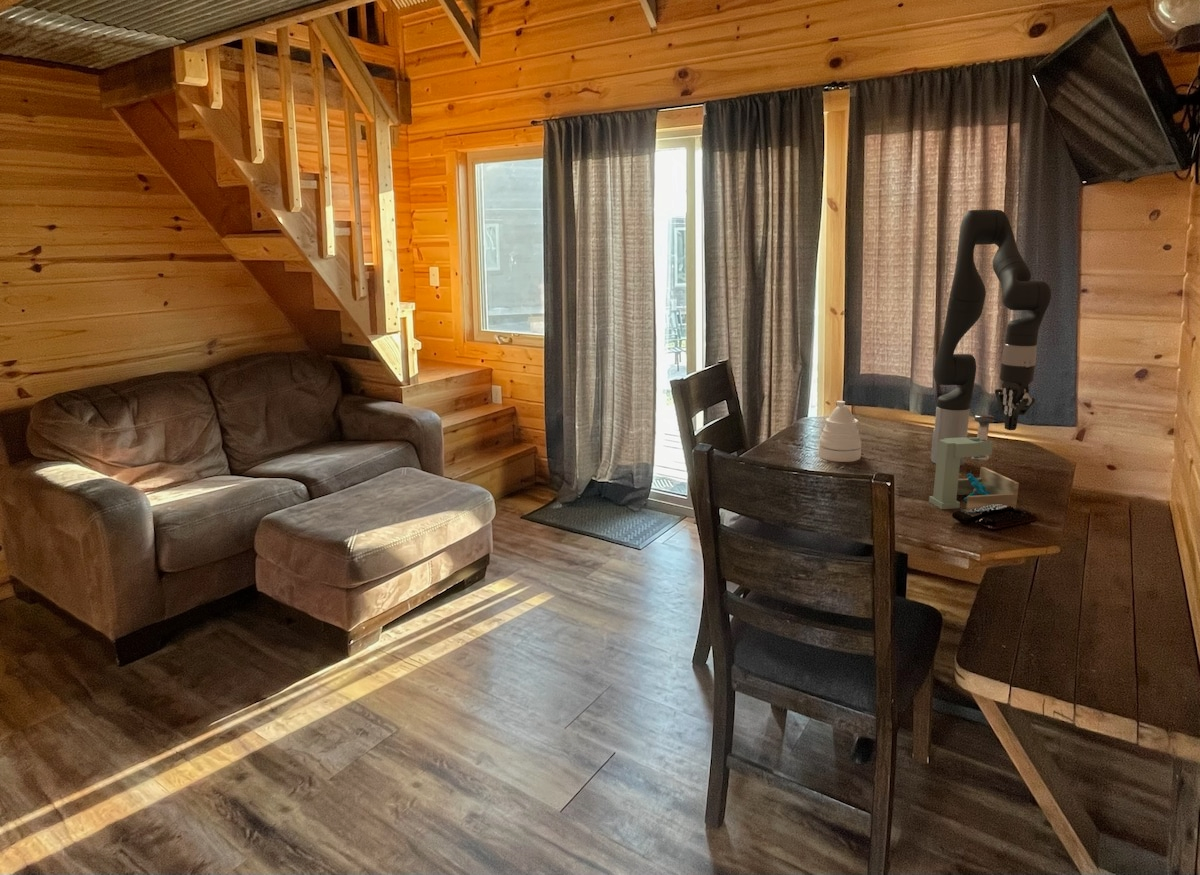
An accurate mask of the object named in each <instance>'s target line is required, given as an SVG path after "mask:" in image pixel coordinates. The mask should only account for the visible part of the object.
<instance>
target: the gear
mask: <svg viewBox="0 0 1200 875" xmlns="http://www.w3.org/2000/svg"><path fill="white" fill-rule="evenodd" d="M966 477H967V479H968V480H969V481H970V482H971V484H972V486H973V487H975V488H974V490H973V492H972V493H970V494H967V496H976V495H991V494H990V492H989V491H987V490H986V487H985V486H984V484H983V483H982V482H981V483H979V480H978V479H977V478H978V477H975V475H973V474H972V473H970V472H969V473H967V474H966ZM967 496H966V497H964V498H963V500H964V501H965V502H966V503H967Z"/></svg>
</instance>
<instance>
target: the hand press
mask: <svg viewBox="0 0 1200 875" xmlns="http://www.w3.org/2000/svg"><path fill="white" fill-rule="evenodd" d="M993 446H994V441H992V440H987V441H979V442H977V436H976V437H975V436H973V437H967V438H965V437H960V438H944V439H942V440H939V441H938V451H937V461H936V463H935V475H934V482H933V483H934V485H933V493H932V494H933V495H930V496H928V503H930V504H932V505H933V504H934V505H933V506H935V507H936V508H939V509H940V510H949V509H960V508H961V502H960V501H958V500H957V498H958V496H957V488H958V479H960V478H959V477H960V459H961V457H965V458H971V457H977V456H983V455H989V456H992V455H993Z"/></svg>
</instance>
